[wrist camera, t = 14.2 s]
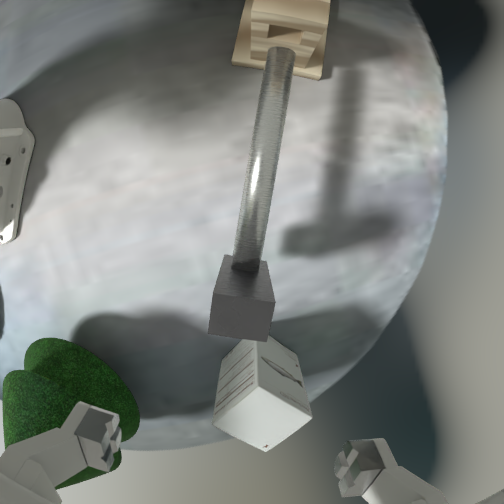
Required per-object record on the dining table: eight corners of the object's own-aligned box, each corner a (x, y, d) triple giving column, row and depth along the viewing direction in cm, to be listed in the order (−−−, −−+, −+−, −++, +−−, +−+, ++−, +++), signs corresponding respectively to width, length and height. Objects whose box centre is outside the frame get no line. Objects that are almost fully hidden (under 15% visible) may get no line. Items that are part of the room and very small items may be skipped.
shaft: (261, 290, 30) (267, 342, 20) (220, 284, 30) (207, 333, 20) (299, 68, 25) (322, 20, 15) (257, 60, 25) (262, 8, 15)
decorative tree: (31, 312, 37) (-98, 422, 8) (138, 322, 37) (17, 515, 8) (64, 407, 41) (-10, 525, 12) (161, 425, 41) (115, 586, 12)
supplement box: (298, 353, 38) (316, 418, 26) (261, 387, 40) (265, 455, 27) (256, 322, 37) (259, 385, 25) (219, 359, 38) (209, 426, 26)
